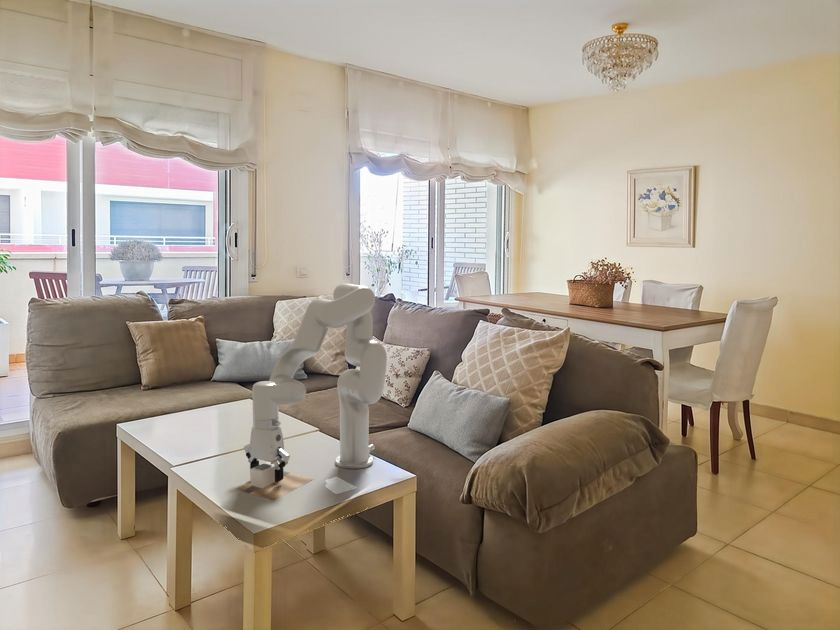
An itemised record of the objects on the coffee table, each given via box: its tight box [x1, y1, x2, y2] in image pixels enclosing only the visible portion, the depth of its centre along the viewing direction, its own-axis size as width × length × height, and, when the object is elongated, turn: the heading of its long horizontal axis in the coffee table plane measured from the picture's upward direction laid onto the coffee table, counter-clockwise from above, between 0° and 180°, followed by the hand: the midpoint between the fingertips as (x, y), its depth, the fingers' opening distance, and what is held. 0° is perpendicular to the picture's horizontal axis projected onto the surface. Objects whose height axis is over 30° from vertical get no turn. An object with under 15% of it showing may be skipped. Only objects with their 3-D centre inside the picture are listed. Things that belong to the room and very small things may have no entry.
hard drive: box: [324, 476, 358, 495], centre depth 186 cm, size 2×8×12 cm
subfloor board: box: [235, 470, 315, 501], centre depth 185 cm, size 18×15×1 cm
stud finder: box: [249, 461, 280, 488], centre depth 186 cm, size 9×4×5 cm, turn 151°
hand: (266, 477), depth 187 cm, fingers open, 9 cm apart
